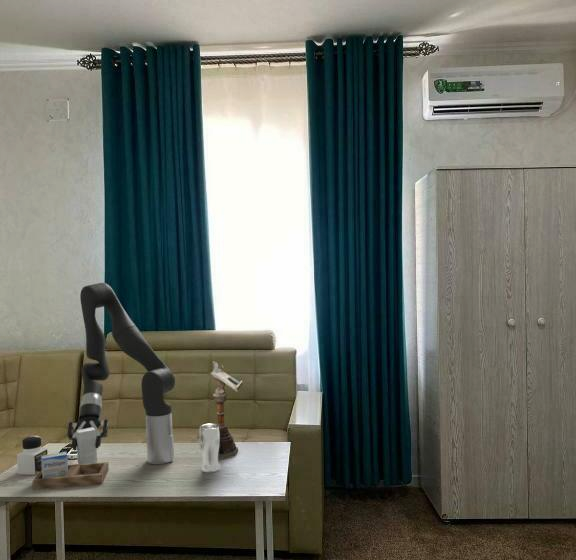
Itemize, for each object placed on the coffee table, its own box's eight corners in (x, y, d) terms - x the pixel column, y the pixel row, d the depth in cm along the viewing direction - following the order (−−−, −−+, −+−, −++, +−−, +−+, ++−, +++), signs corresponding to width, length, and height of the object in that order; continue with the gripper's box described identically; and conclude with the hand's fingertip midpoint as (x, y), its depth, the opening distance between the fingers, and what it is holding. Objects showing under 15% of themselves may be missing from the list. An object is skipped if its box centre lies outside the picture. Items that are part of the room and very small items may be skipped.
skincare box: (94, 459, 201) (92, 426, 201) (97, 462, 197) (95, 429, 197) (77, 463, 198) (75, 430, 197) (79, 466, 194) (78, 432, 194)
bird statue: (254, 447, 212) (250, 356, 211) (247, 459, 199) (243, 362, 198) (212, 446, 214) (208, 357, 213) (202, 458, 201) (199, 363, 200)
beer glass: (224, 467, 191) (223, 424, 191) (213, 474, 185) (212, 430, 184) (207, 464, 194) (206, 422, 194) (196, 471, 188) (194, 428, 187)
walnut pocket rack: (108, 470, 192) (108, 461, 192) (102, 483, 180) (101, 474, 180) (44, 475, 189) (43, 467, 189) (33, 489, 177) (32, 480, 177)
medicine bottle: (35, 475, 190) (34, 440, 189) (17, 474, 191) (15, 440, 191) (48, 467, 197) (47, 434, 196) (30, 467, 198) (29, 434, 198)
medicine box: (42, 485, 180) (41, 458, 180) (42, 480, 184) (40, 455, 183) (68, 480, 183) (67, 454, 183) (67, 475, 187) (66, 450, 187)
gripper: (68, 404, 203) (62, 445, 192) (109, 401, 206) (104, 441, 194) (73, 414, 209) (66, 455, 198) (112, 411, 211) (108, 451, 200)
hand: (85, 448), depth 196 cm, fingers closed on skincare box, 7 cm apart
